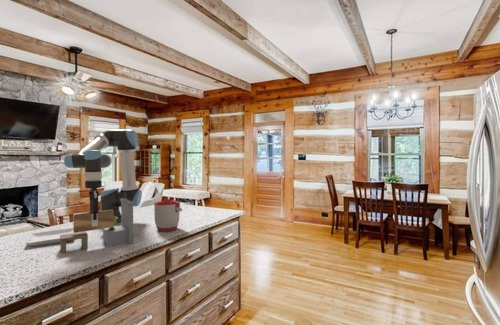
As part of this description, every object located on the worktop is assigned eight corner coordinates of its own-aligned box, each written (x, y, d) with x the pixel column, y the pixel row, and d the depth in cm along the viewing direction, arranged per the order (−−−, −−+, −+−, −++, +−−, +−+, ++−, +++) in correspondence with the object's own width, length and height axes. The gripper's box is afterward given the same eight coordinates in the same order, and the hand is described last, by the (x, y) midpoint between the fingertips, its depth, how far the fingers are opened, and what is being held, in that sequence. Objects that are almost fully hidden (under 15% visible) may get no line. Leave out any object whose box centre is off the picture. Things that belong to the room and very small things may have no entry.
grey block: (102, 239, 156) (101, 200, 155) (125, 235, 163) (125, 198, 163) (108, 248, 141) (108, 205, 140) (134, 243, 148) (133, 202, 147)
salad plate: (25, 249, 140) (25, 242, 140) (31, 238, 158) (31, 232, 158) (75, 242, 152) (75, 236, 151) (75, 233, 170) (75, 227, 169)
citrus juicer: (176, 233, 167) (175, 199, 166) (149, 232, 170) (148, 199, 169) (186, 226, 182) (186, 196, 182) (161, 225, 185) (161, 195, 185)
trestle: (60, 248, 140) (60, 234, 139) (85, 244, 146) (85, 231, 146) (61, 253, 133) (61, 238, 133) (87, 248, 140) (87, 234, 140)
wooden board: (73, 241, 141) (73, 213, 140) (112, 235, 152) (112, 209, 151) (74, 242, 138) (73, 214, 138) (114, 236, 149) (113, 210, 149)
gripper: (83, 179, 148) (83, 223, 149) (87, 181, 136) (88, 229, 136) (98, 178, 153) (99, 221, 154) (104, 180, 140) (105, 227, 141)
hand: (94, 225), depth 145 cm, fingers closed on wooden board, 3 cm apart
